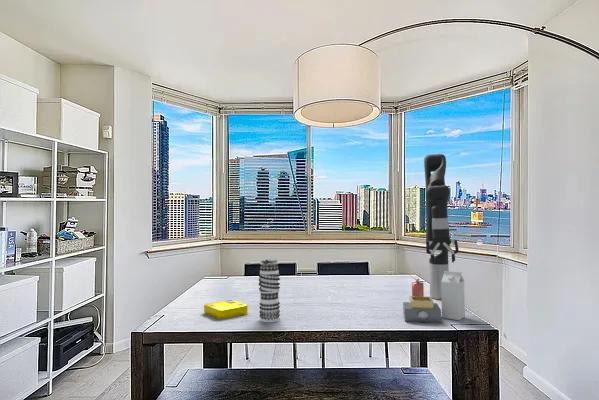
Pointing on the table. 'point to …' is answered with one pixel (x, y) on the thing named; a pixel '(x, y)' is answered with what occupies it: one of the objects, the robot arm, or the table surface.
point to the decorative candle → (269, 290)
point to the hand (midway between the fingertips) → (443, 262)
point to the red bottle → (417, 288)
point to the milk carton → (453, 295)
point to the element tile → (225, 309)
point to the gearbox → (421, 310)
